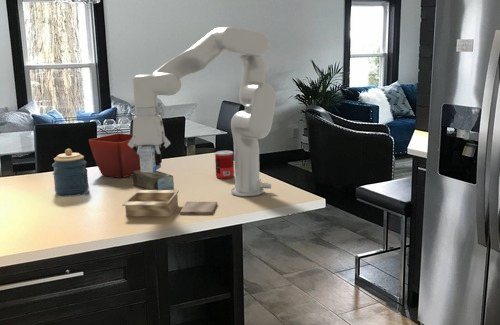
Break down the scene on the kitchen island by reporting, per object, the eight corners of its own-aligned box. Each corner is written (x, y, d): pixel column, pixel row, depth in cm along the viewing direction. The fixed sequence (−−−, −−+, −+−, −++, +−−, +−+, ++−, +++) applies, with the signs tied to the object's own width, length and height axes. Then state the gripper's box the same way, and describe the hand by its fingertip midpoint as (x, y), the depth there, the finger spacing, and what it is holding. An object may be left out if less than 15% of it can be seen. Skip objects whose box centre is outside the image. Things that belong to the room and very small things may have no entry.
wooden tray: (179, 203, 197) (179, 190, 195) (168, 219, 179) (167, 204, 178) (138, 203, 198) (137, 190, 197) (123, 218, 180) (122, 204, 179)
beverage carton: (157, 193, 211) (156, 177, 210) (132, 185, 225) (131, 170, 224) (174, 189, 216) (173, 173, 215) (149, 181, 230) (147, 166, 229)
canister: (95, 191, 215) (91, 148, 212) (65, 198, 206) (61, 153, 202) (78, 186, 224) (74, 144, 220) (49, 193, 215) (44, 149, 211)
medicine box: (152, 172, 181) (151, 147, 179) (140, 172, 182) (138, 147, 180) (161, 167, 189) (159, 143, 187) (149, 167, 190) (147, 143, 188)
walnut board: (217, 204, 194) (217, 201, 194) (212, 214, 183) (211, 211, 182) (187, 204, 195) (186, 201, 195) (179, 214, 184) (179, 211, 183)
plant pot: (90, 176, 241) (87, 139, 238) (121, 167, 257) (118, 132, 254) (121, 181, 232) (118, 142, 228) (151, 171, 247) (149, 135, 244)
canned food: (237, 176, 236) (236, 151, 233) (227, 180, 229) (226, 154, 227) (223, 174, 240) (222, 149, 237) (212, 178, 233) (211, 153, 231)
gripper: (174, 110, 184) (177, 162, 188) (125, 111, 185) (129, 162, 189) (169, 112, 177) (172, 167, 181) (118, 114, 178) (123, 167, 182)
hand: (150, 164), depth 185 cm, fingers closed on medicine box, 4 cm apart
